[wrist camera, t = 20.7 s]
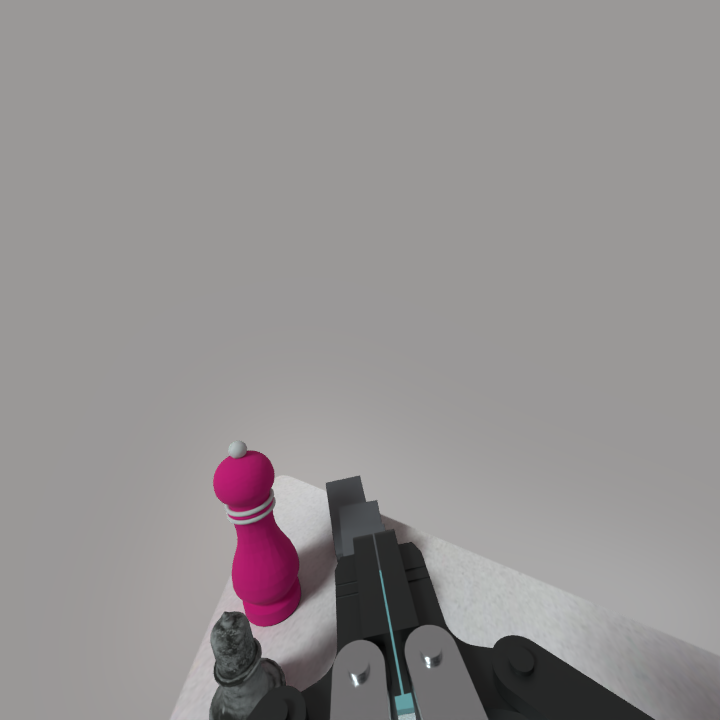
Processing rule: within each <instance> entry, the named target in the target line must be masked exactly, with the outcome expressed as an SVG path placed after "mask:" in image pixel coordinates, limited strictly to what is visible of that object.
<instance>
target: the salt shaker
mask: <svg viewBox="0 0 720 720" xmlns="http://www.w3.org/2000/svg"><path fill="white" fill-rule="evenodd" d="M211 646H212V649H213V653H214V656H215V659H216V662H215V665H214V677H215V680H216V682H217V683H218V684H219V685H220V686H219V687H218V689H217V691H216V693H215V695H214V697H213V699H212V703H211V707H210V712H209V720H246V719H247V718H248V716H249V715H250V713H251V712H252V710H253V709H254V708H255V706H256V705H257V703H258V702H259V701H260V700H261V698H262V697H263V696H264V695H265V694H267V693H268V692H269V691H271V690H273V689H274V688H277V687H280V686H286V683H285V676H284V673H283V671H282V669H281V667H280V666H279V665H278V664H277V663H276V662H275V661H273V660H271V659H268V658H261V655H262V650H261V645H260V643H259V641H258V640H257V639H256V638H253V635H252V631H251V628H250V624H249V621H248V618H247V617H246V616H245V615H244V614H243V613H241V612H235V611H234V612H224V613H223V615H222V617H221V618H220V619H219V620H218V621H217V623H216V624H215V626H214V628H213V630H212V632H211Z"/></svg>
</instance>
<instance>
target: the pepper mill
mask: <svg viewBox="0 0 720 720" xmlns="http://www.w3.org/2000/svg"><path fill="white" fill-rule="evenodd" d="M228 451H229V454H230V456H229V457H227V458H226V459H225V460H223V461H222V462H221V464H220V465H219V466H218V468H217V470H216V472H215V474H214V480H213V486H214V491H215V493H216V496H217V497H218V499H219V500H220V501H222V502H223V503H224V504H225V511H226V513H227V518H228V520H229V521H230V522H232V523H233V524H234V525H235V528H236V531H237V537H238V543H237V549H236V553H235V556H234V560H233V566H232V581H233V588H234V590H235V592H236V594H237V596H238V597H239V598H240V599H242V600H243V605H244V609H245V613H246V616H247V618H248V620H249V621H250V622H251V623H253V624H255V625H257V626H263V627H265V626H272V625H275V624H278V623H279V622H281V621H283V620H285V619H286V618H287V617H288V616H289V615H290V614H292V613H293V612H294V610H295V609H296V607H297V605H298V603H299V601H300V597H301V588H300V584H299V579H298V576H297V575H298V571H299V558H298V555H297V552H296V549H295V547H294V546H293V544H292V543H291V541H290V539H289V538H288V537H287V536H286V535H285V534H284V533H283V532H282V531H281V530H280V528H279V527H278V526H277V524H276V522H275V519H274V516H273V508H274V506H275V497H274V491H273V489H272V488H271V487H272V485H273V483H274V469H273V466H272V464H271V462H270V460H269V459H268V458H267V457H266V456H265V455H264V454H262V453H260V452H257V451H247V446H246V444H245V443H244V442H242V441H235V442H233V443H232V444H231V445H230V446H229V449H228Z"/></svg>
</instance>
